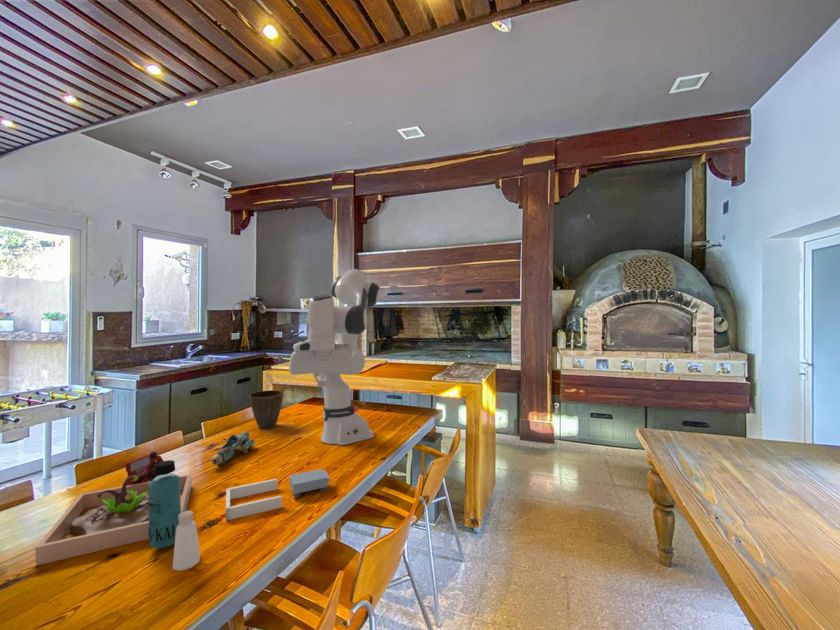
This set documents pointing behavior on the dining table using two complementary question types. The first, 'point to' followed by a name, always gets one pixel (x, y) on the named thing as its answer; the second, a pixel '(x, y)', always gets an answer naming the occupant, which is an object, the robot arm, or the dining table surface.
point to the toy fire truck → (143, 468)
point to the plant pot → (266, 407)
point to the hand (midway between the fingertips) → (321, 386)
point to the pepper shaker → (186, 543)
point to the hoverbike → (232, 447)
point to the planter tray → (71, 547)
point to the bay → (252, 506)
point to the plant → (114, 511)
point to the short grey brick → (309, 481)
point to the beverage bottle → (164, 505)
